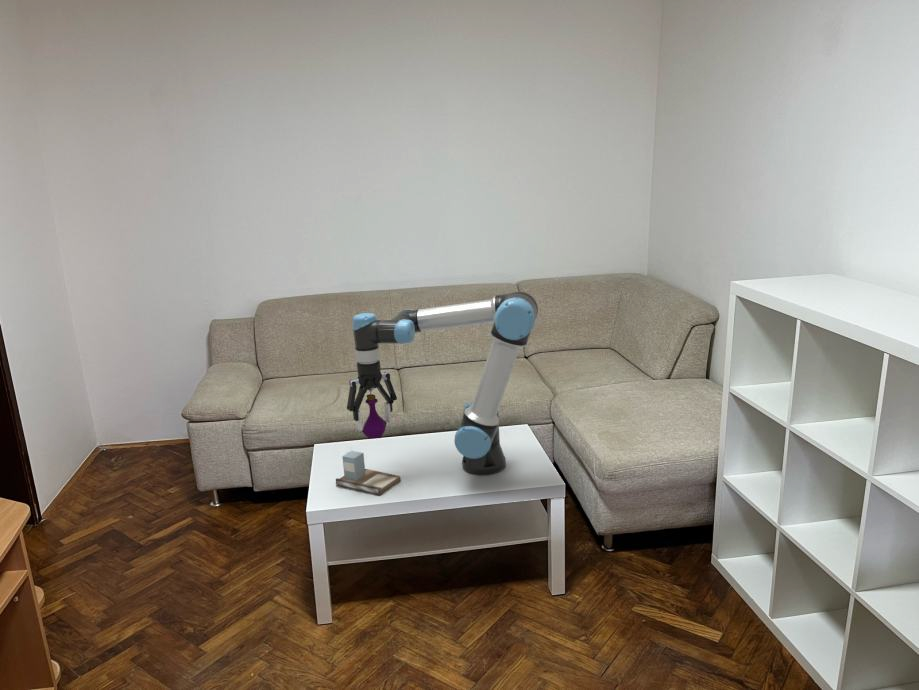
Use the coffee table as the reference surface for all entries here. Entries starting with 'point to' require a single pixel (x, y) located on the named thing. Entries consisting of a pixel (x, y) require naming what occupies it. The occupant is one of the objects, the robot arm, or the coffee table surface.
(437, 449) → the coffee table surface
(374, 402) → the perfume bottle
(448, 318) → the robot arm
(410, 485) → the coffee table surface
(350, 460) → the tea tin
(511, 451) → the coffee table surface
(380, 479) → the display board
